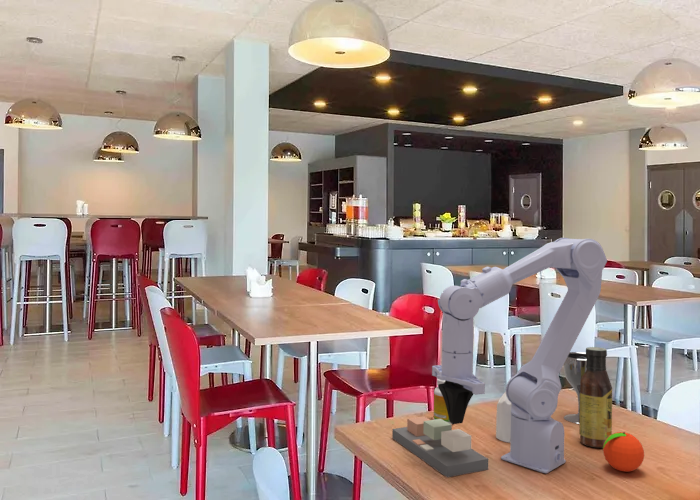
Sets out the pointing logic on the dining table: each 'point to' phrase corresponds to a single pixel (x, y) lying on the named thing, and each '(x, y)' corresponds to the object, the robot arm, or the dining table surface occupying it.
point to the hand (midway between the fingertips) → (456, 422)
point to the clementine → (623, 451)
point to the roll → (503, 419)
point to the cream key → (456, 440)
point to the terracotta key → (416, 425)
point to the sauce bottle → (595, 400)
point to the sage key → (435, 428)
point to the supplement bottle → (440, 404)
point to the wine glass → (575, 377)
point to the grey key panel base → (441, 454)
